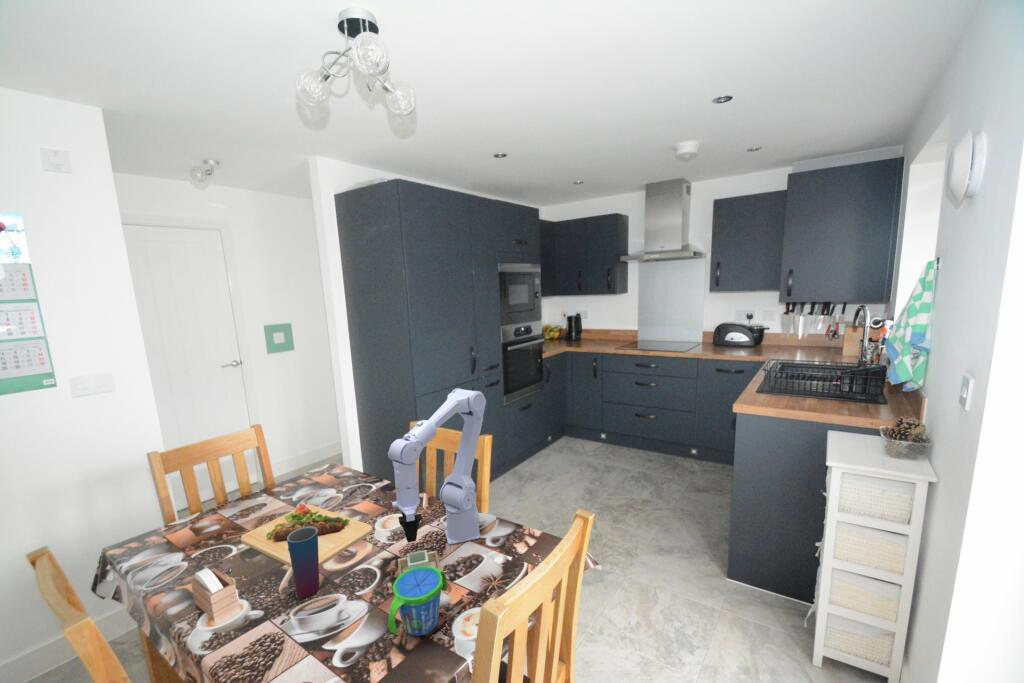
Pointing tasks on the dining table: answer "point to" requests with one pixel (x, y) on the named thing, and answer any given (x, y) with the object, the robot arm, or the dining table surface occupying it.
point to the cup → (304, 560)
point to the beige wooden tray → (431, 558)
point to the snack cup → (417, 600)
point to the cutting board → (331, 526)
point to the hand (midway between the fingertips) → (410, 533)
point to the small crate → (417, 559)
